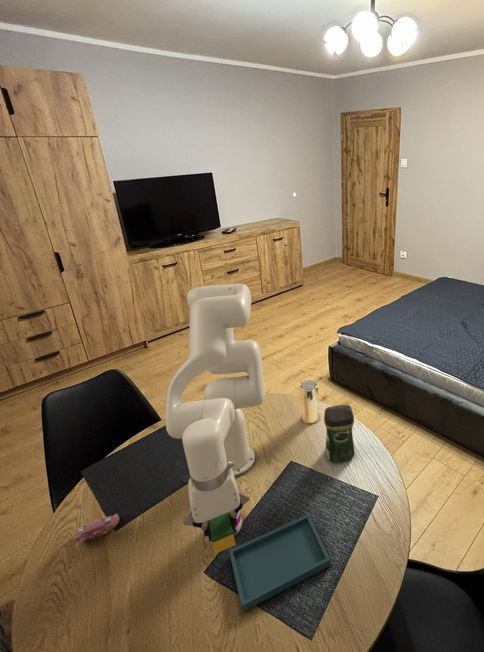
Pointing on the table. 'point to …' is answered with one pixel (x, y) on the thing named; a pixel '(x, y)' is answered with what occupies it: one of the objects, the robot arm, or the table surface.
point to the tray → (277, 561)
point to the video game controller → (96, 528)
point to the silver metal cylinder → (309, 400)
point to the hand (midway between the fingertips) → (221, 530)
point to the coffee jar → (339, 433)
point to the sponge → (221, 533)
